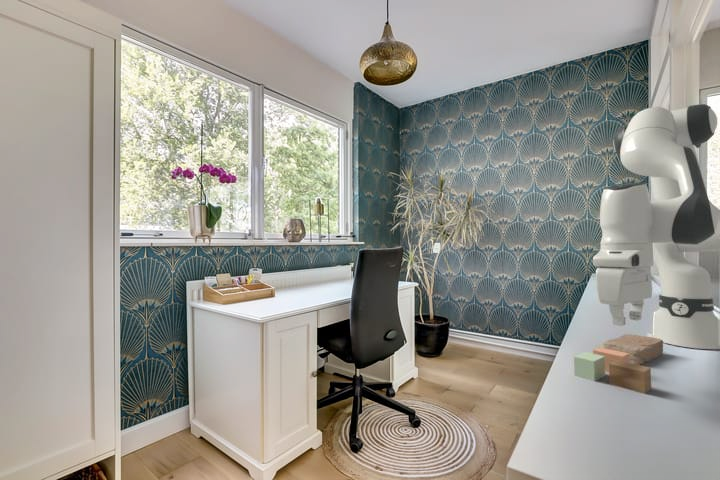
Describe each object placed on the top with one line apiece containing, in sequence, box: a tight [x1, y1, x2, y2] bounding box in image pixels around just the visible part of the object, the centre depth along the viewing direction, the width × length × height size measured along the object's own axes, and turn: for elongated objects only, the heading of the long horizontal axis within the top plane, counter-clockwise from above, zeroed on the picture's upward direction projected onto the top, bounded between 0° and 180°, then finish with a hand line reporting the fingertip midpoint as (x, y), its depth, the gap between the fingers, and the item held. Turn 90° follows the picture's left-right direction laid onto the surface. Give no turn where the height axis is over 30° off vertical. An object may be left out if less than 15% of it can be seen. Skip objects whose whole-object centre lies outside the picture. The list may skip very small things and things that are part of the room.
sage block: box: [573, 351, 606, 382], centre depth 77 cm, size 6×4×4 cm, turn 124°
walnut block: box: [608, 360, 652, 395], centre depth 70 cm, size 6×4×4 cm, turn 34°
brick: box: [602, 333, 664, 366], centre depth 90 cm, size 16×8×5 cm, turn 121°
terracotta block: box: [592, 347, 629, 373], centre depth 80 cm, size 6×4×4 cm, turn 34°
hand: (627, 322), depth 71 cm, fingers open, 8 cm apart
